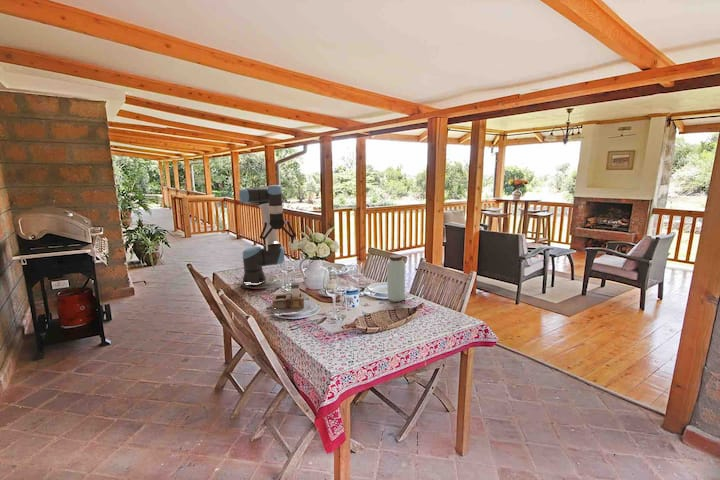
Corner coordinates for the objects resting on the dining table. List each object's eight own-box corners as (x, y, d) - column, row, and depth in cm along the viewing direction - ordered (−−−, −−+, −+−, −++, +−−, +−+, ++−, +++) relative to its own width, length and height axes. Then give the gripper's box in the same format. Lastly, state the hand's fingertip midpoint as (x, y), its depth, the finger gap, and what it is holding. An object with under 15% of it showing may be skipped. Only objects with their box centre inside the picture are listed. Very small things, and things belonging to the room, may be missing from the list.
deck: (289, 296, 209) (289, 294, 209) (306, 295, 210) (306, 293, 210) (288, 302, 199) (288, 301, 199) (306, 301, 201) (306, 299, 200)
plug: (292, 303, 195) (291, 282, 193) (300, 302, 196) (298, 282, 193) (292, 306, 192) (291, 285, 189) (300, 305, 192) (298, 284, 190)
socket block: (274, 304, 197) (274, 294, 196) (304, 302, 199) (303, 291, 198) (273, 312, 187) (272, 301, 186) (304, 309, 190) (303, 298, 188)
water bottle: (384, 301, 198) (384, 257, 192) (390, 294, 207) (389, 253, 201) (402, 303, 194) (402, 259, 189) (407, 296, 203) (406, 254, 198)
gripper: (252, 214, 194) (256, 252, 199) (298, 212, 198) (301, 249, 202) (254, 213, 201) (257, 249, 206) (298, 210, 205) (301, 246, 210)
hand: (279, 249), depth 204 cm, fingers open, 13 cm apart
